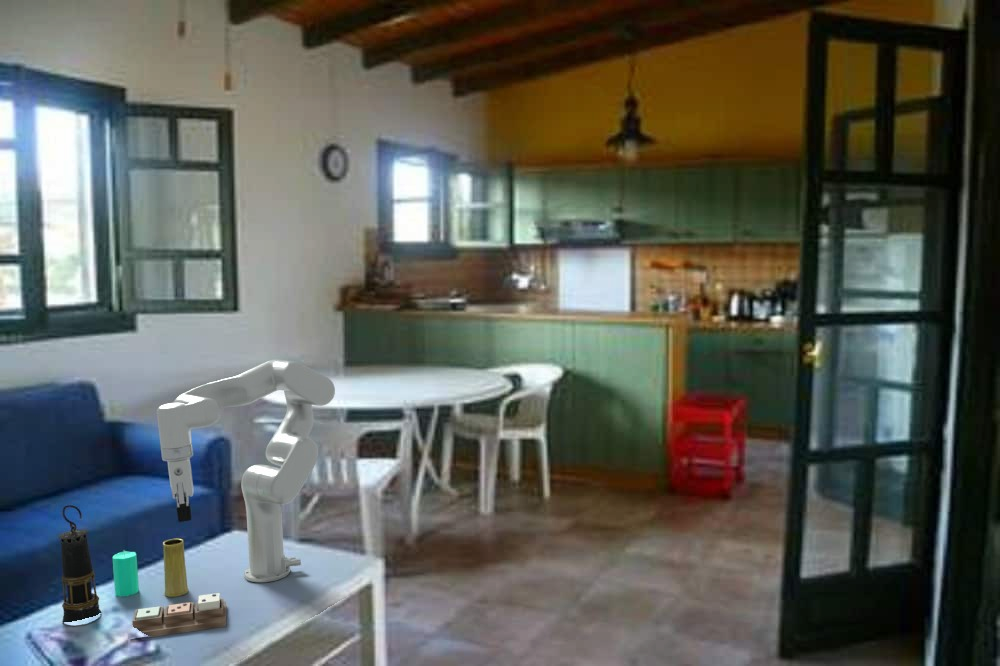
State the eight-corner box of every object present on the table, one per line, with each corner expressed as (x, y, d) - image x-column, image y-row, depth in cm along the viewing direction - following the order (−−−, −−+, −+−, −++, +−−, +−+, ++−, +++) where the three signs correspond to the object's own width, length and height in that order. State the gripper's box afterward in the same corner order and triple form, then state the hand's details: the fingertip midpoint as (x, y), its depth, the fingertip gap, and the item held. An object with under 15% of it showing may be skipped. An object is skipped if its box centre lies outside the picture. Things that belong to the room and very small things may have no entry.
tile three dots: (190, 611, 223) (190, 601, 223) (189, 619, 219) (189, 609, 218) (169, 614, 222) (169, 604, 222) (168, 622, 217) (167, 612, 217)
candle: (130, 597, 237) (127, 554, 235) (110, 595, 238) (107, 552, 236) (143, 588, 242) (140, 546, 241) (124, 586, 244) (120, 545, 242)
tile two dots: (220, 601, 225) (219, 592, 225) (219, 609, 220) (219, 599, 220) (199, 604, 224) (198, 594, 223) (198, 612, 219) (198, 602, 219)
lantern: (83, 608, 230) (74, 496, 226) (110, 613, 227) (101, 500, 223) (54, 622, 222) (44, 507, 218) (81, 628, 218) (71, 511, 215)
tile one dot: (160, 615, 221) (159, 605, 221) (158, 624, 217) (157, 613, 216) (138, 618, 220) (138, 608, 220) (136, 626, 215) (136, 616, 215)
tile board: (226, 606, 229) (225, 593, 229) (225, 626, 218) (224, 612, 217) (135, 619, 223) (134, 605, 223) (129, 639, 212) (128, 626, 211)
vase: (193, 589, 241) (189, 539, 239) (178, 598, 235) (174, 547, 233) (174, 587, 243) (171, 536, 241) (159, 595, 237) (155, 544, 235)
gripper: (192, 457, 219) (200, 527, 222) (193, 442, 233) (200, 508, 236) (160, 461, 216) (168, 532, 219) (162, 446, 230) (170, 513, 233)
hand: (184, 520), depth 228 cm, fingers closed
